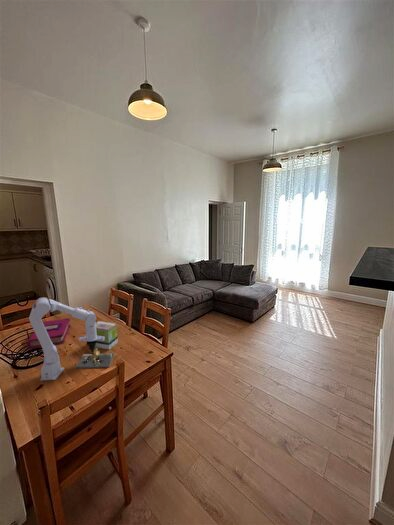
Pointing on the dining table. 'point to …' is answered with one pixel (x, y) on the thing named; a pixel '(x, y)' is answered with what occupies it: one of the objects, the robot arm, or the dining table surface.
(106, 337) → the tea box
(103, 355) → the slider beam
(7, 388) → the dining table surface
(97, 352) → the slider handle
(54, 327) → the book
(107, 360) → the bolt plate
